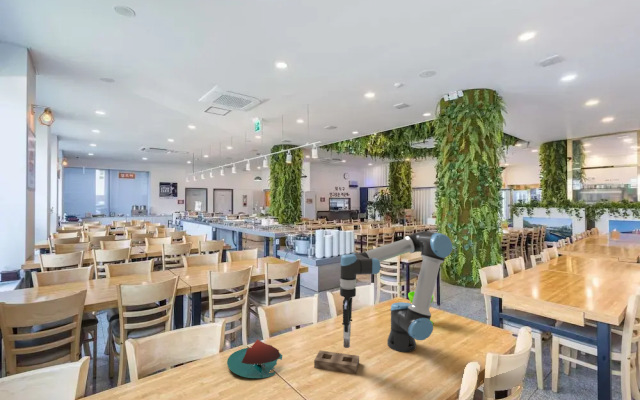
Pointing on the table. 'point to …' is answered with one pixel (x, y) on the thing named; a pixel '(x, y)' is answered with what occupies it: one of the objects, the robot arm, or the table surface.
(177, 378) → the table surface
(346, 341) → the peg
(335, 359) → the socket block
